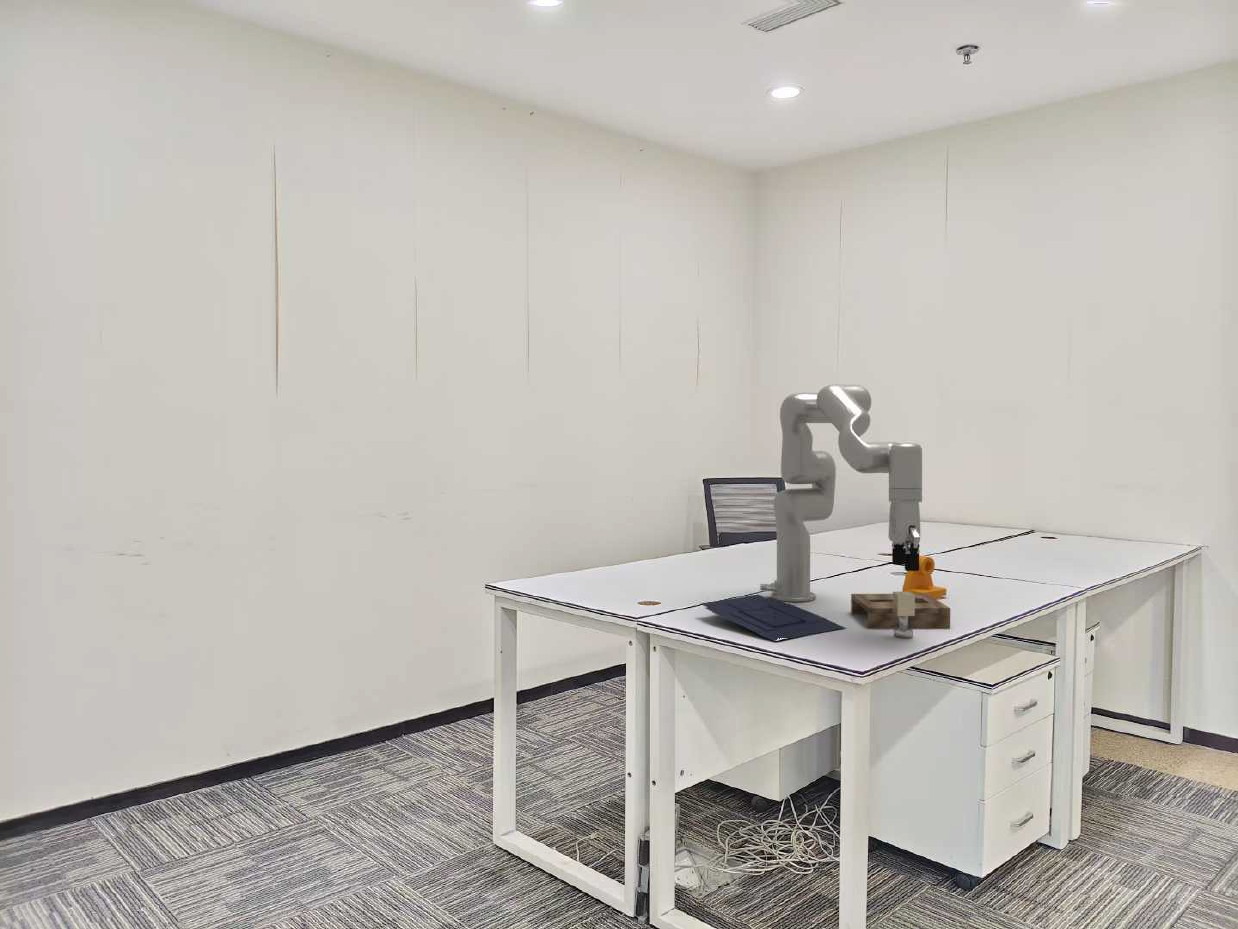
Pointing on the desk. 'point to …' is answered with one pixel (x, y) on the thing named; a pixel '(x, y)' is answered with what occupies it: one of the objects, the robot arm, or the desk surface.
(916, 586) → the bracket
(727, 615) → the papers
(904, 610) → the peg
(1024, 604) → the desk surface
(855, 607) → the keyhole board
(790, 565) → the robot arm
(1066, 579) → the desk surface
